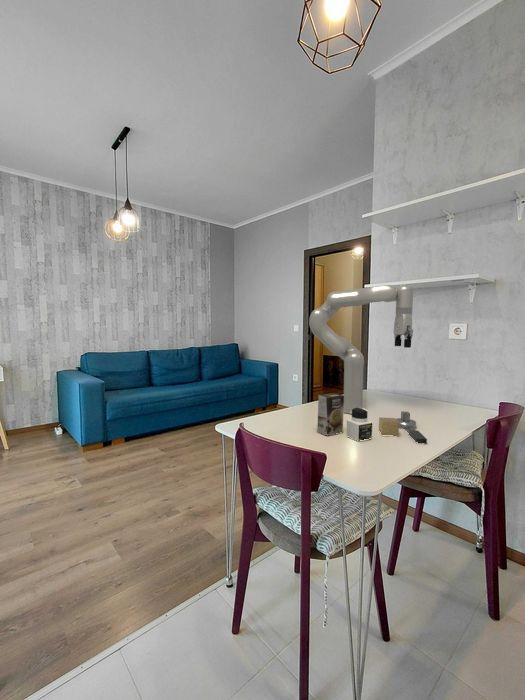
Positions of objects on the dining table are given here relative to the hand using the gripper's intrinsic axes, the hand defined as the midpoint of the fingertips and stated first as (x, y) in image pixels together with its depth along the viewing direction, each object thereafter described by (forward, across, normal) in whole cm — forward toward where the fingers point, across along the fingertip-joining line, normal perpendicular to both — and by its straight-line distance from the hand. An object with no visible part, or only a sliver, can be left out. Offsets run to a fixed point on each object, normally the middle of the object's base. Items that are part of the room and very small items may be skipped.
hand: (402, 346), depth 164 cm
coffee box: (+35, +25, -42) cm, 60 cm away
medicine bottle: (+35, +32, -32) cm, 57 cm away
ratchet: (+35, +26, -8) cm, 44 cm away
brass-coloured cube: (+35, +27, -18) cm, 48 cm away
